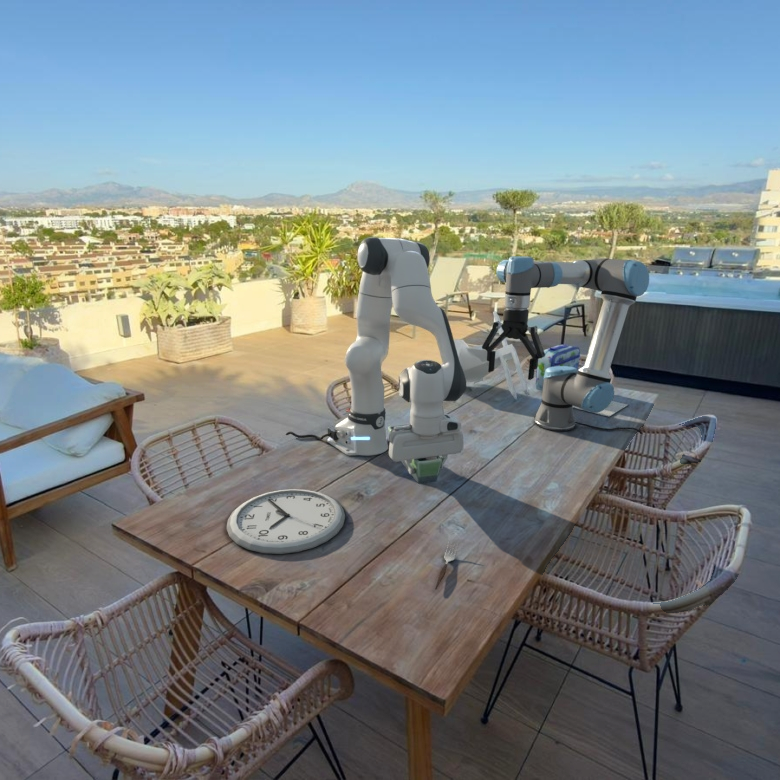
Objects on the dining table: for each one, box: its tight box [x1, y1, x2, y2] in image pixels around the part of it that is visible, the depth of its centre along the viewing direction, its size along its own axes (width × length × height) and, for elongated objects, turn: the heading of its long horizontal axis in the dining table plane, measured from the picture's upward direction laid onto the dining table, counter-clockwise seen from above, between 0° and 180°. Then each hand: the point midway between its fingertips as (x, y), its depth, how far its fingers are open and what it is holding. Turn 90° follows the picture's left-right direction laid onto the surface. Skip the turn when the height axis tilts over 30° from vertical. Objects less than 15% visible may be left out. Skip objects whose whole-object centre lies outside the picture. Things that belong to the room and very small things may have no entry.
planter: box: [387, 424, 442, 485], centre depth 150 cm, size 28×7×7 cm, turn 17°
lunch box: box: [535, 344, 581, 392], centre depth 247 cm, size 26×11×21 cm, turn 134°
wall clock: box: [226, 488, 346, 555], centre depth 135 cm, size 30×2×30 cm
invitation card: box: [573, 400, 629, 418], centre depth 226 cm, size 21×1×15 cm
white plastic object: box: [453, 310, 531, 400], centre depth 245 cm, size 37×45×31 cm
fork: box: [434, 542, 459, 590], centre depth 116 cm, size 3×16×2 cm, turn 160°
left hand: (426, 471), depth 141 cm, fingers closed on planter, 6 cm apart
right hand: (510, 375), depth 167 cm, fingers open, 13 cm apart
